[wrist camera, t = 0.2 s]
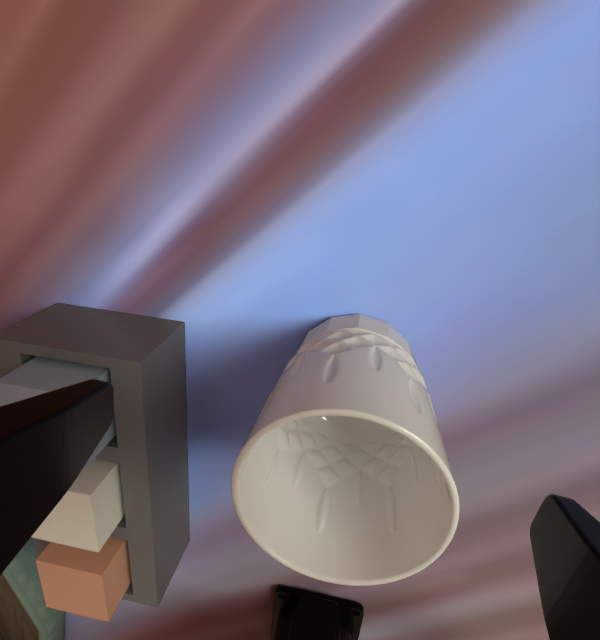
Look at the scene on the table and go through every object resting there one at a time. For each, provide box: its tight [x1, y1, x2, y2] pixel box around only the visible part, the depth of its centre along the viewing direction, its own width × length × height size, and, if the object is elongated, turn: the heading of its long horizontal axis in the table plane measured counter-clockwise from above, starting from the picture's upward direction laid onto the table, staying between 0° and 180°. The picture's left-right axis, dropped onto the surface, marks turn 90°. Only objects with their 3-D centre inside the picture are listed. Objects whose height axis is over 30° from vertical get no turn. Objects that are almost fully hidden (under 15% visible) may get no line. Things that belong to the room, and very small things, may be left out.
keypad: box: [0, 303, 190, 607], centre depth 26 cm, size 18×8×5 cm, turn 175°
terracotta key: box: [36, 537, 132, 622], centre depth 26 cm, size 4×4×3 cm
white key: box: [32, 458, 125, 552], centre depth 24 cm, size 4×4×3 cm
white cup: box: [231, 314, 459, 586], centre depth 19 cm, size 8×8×10 cm
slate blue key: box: [0, 356, 117, 467], centre depth 21 cm, size 4×4×3 cm
